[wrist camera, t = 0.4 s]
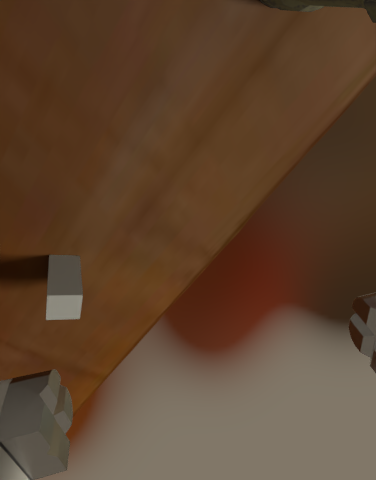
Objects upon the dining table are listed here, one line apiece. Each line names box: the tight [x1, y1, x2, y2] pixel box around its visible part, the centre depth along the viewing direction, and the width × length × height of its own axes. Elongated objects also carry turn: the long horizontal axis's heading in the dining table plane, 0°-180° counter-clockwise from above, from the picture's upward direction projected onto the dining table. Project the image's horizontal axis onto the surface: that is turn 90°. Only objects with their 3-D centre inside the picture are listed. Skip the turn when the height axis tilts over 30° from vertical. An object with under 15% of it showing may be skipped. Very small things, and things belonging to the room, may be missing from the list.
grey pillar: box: [46, 255, 83, 320], centre depth 50 cm, size 4×4×9 cm
